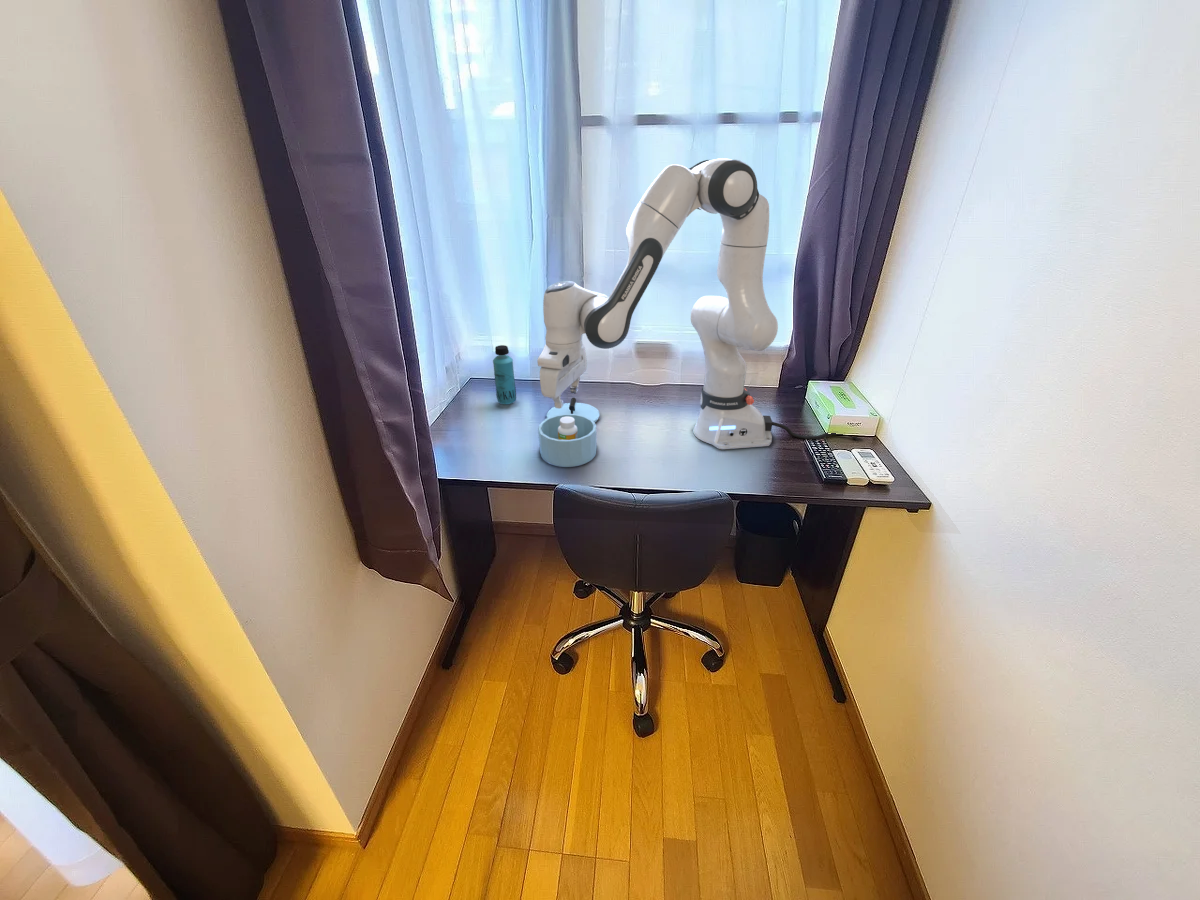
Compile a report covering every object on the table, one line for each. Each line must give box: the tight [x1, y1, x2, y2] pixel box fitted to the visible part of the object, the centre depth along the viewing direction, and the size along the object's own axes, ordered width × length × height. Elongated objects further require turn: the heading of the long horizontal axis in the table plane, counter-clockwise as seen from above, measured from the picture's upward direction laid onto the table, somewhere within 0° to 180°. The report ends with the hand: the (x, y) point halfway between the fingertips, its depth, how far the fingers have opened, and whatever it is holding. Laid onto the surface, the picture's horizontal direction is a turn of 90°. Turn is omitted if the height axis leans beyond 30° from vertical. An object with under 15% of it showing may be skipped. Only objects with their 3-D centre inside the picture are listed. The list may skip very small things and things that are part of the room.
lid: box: [546, 397, 600, 423], centre depth 158 cm, size 17×17×6 cm
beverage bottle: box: [492, 344, 517, 405], centre depth 162 cm, size 6×7×20 cm
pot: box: [537, 414, 598, 468], centre depth 139 cm, size 16×16×8 cm
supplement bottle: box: [558, 416, 578, 440], centre depth 138 cm, size 5×5×10 cm
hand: (567, 399), depth 133 cm, fingers open, 8 cm apart
